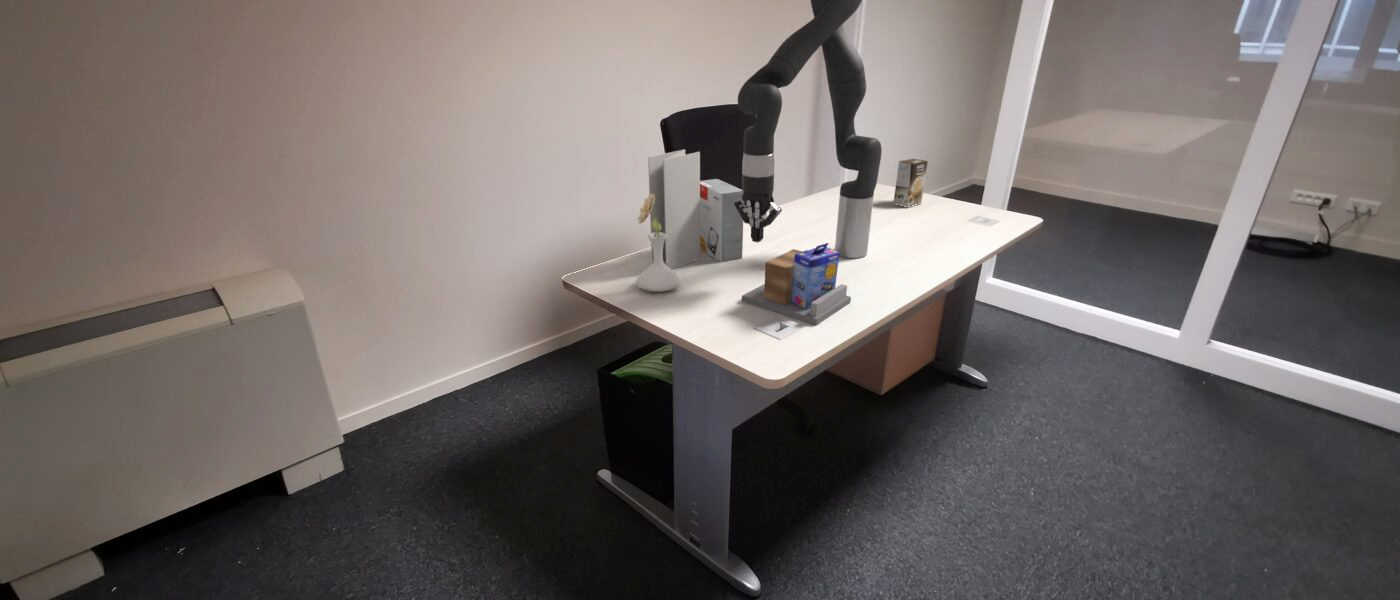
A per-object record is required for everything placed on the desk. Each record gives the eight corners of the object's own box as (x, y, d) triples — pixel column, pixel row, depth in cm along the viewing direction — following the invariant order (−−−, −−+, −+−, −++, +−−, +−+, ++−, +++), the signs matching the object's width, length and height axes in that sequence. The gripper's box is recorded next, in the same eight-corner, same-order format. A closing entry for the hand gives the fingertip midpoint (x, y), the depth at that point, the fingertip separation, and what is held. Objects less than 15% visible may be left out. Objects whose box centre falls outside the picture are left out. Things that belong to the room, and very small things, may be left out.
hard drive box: (695, 246, 187) (694, 181, 179) (717, 243, 190) (718, 178, 182) (720, 263, 174) (720, 192, 166) (743, 258, 177) (745, 189, 169)
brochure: (685, 253, 181) (684, 149, 169) (700, 257, 178) (700, 151, 166) (651, 267, 171) (648, 157, 159) (666, 271, 168) (664, 160, 156)
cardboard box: (791, 283, 156) (793, 249, 152) (812, 289, 153) (814, 254, 149) (764, 298, 148) (765, 262, 144) (785, 304, 144) (787, 268, 140)
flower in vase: (642, 277, 164) (639, 183, 154) (685, 280, 162) (684, 185, 152) (629, 297, 152) (624, 197, 142) (675, 300, 150) (673, 199, 140)
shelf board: (778, 281, 161) (779, 265, 159) (850, 302, 149) (852, 285, 147) (741, 301, 150) (742, 284, 148) (816, 325, 138) (818, 306, 136)
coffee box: (907, 208, 225) (914, 164, 219) (892, 204, 230) (898, 161, 223) (921, 204, 230) (928, 160, 224) (906, 200, 235) (912, 157, 228)
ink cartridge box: (806, 310, 141) (811, 250, 136) (789, 302, 145) (793, 243, 140) (836, 299, 147) (841, 241, 141) (818, 292, 151) (823, 235, 145)
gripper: (790, 172, 146) (787, 242, 153) (745, 165, 154) (744, 232, 161) (772, 179, 141) (770, 251, 148) (726, 171, 149) (726, 239, 156)
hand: (756, 241), depth 155 cm, fingers closed
